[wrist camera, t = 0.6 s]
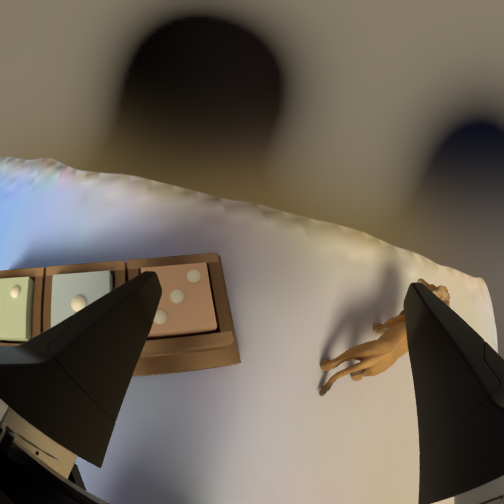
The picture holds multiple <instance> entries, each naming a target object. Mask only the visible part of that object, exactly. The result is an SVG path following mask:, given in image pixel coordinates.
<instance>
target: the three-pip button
mask: <svg viewBox="0 0 504 504" xmlns="http://www.w3.org/2000/svg"><path fill="white" fill-rule="evenodd" d="M144 271H154V272H156V273H157V275H158V278H159V281H160V284H161V287H162V296H161V299H160V302H159V305H158V308H157V312H156V315H155V318H154V322H153V325H152V328H151V330H150V333H149V335H148V338H149V340H151V339H162V338H172V337H182V336H191V335H199V334H207V333H214V332H215V330H216V328H217V323H216V318H215V312H214V306H213V301H212V295H211V289H210V283H209V277H208V270H207V264H206V262H205V263H194V264H182V265H170V266H158V267H146V268H141V273H143V272H144Z"/></svg>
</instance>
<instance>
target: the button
mask: <svg viewBox="0 0 504 504" xmlns="http://www.w3.org/2000/svg"><path fill="white" fill-rule="evenodd" d="M114 289H115V280H114V278H113V276H112V274H111V273H110V271H97V272H84V273H71V274H58V275H53V280H52V296H51V328H52V327H53V326H55V325H57V324H58V323H60V322H62V321H63V320H65V319H67V318H68V317H70V316H71V315H74V314H75V313H76V312H78V311H79V310H81V309H83V308H84V307H86V306H87V305H89V304H91V303H92V302H94V301H96V300H97V299H99V298H101V297H102V296H104V295H105V294H107V293H109V292H110V291H112V290H114Z"/></svg>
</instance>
